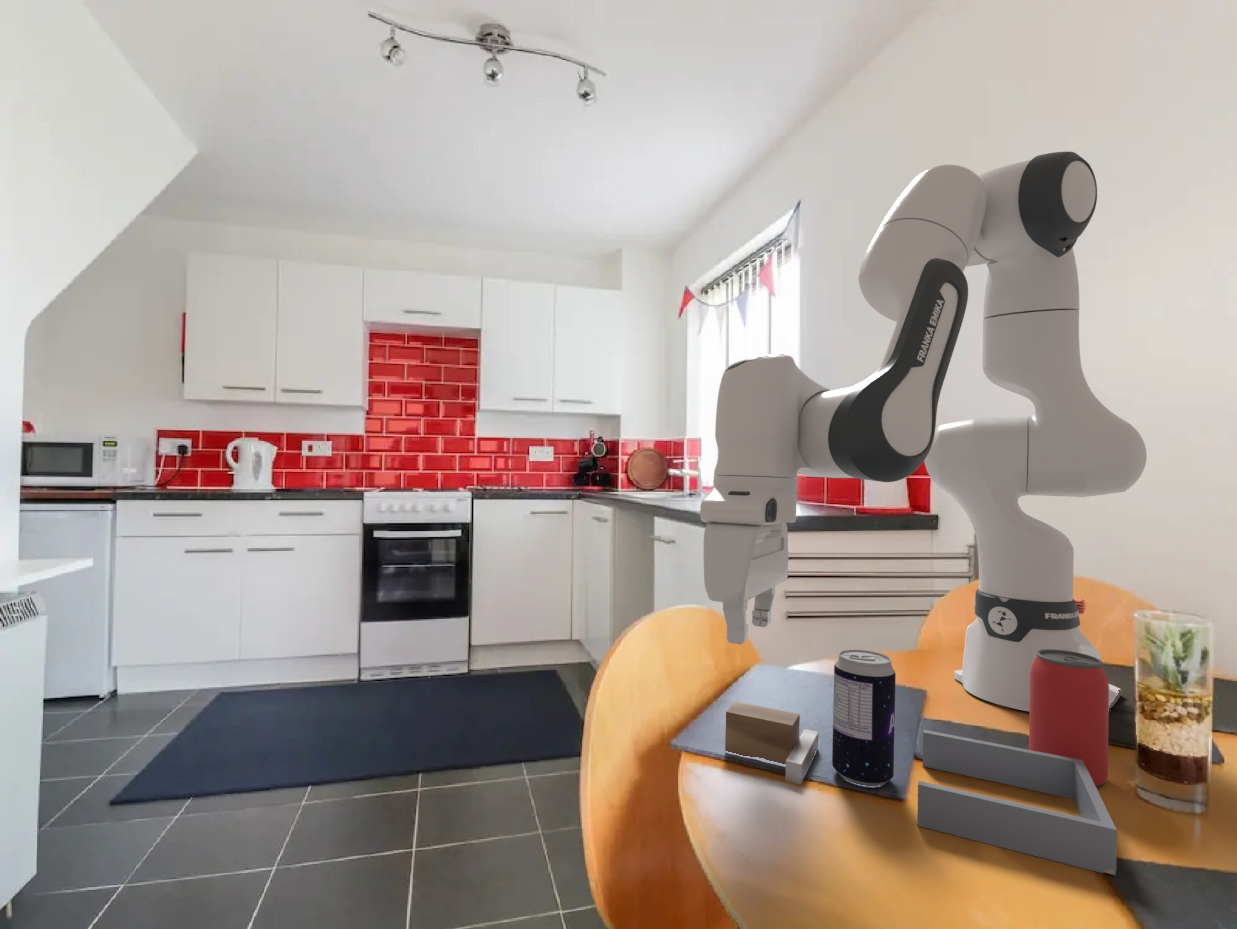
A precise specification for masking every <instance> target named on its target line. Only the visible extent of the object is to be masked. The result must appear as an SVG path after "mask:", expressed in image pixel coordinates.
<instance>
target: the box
mask: <svg viewBox="0 0 1237 929" xmlns="http://www.w3.org/2000/svg"><path fill="white" fill-rule="evenodd" d="M922 735H923V736H922V767H924V768H929V769H934V770H937V771H943V772H947V773H952V774H957V775H961V776H966V777H970V778H975V779H980V780H985V781H990V782H994V783H997V784H998V783H999V784H1003V785H1009V786H1012V787H1016V788H1021V789H1022V788H1023V789H1026V790H1031V791H1037V792H1040V793H1045V794H1049V795H1054V796H1059V797H1064V798H1068V799H1073V801H1074V804H1075V806H1076V808H1077V812H1078V814H1079V816H1077V815H1074V814H1073V815H1072V814H1067V813H1063V812H1061V811H1054V810H1050V809H1045V808H1041V807H1038V806H1033V805H1029V804H1025V803H1024V804H1023V803H1019V802H1015V801H1010V800H1006V799H1001V798H999V797H998V798H997V797H993V796H988V795H984V794H979V793H975V792H969V791H966V790H962V789H957V788H953V787H948V786H944V785H939V784H936V783H931V782H926V781H921V780H917V781H918V783H917V818H916V820H917V822H916V823H917V824H916V825H917V826H918V827H921V828H926V829H930V830H933V831H936V832H940V833H941V832H942V833H944V834H947V835H953V836H957V837H961V838H963V839H968V840H973V841H976V842H979V843H983V844H987V845H992V846H996V847H999V848H1003V849H1007V850H1011V851H1015V852H1018V853H1021V854H1022V853H1023V854H1027V855H1030V856H1035V857H1038V858H1042V859H1046V860H1049V861H1055V862H1059V863H1061V864H1062V863H1063V864H1065V865H1070V866H1073V867H1077V868H1081V869H1083V870H1084V869H1085V870H1090V871H1091V872H1095V873H1096V872H1097V873H1100V874H1104V873H1103V871H1105V870H1110V869H1113V870H1116V871H1117V846H1118V844H1117V843H1118V842H1117V840H1118V836H1117V835H1118V833H1117V832H1118V830H1117V828H1116V826H1115V823H1114V822H1113V819H1112V818H1111V815H1110V813H1109V811H1108V808H1107V807H1106V805H1105V803H1104V801H1103V799H1102V797H1101V795H1100V793H1099V790H1098V788H1097V786H1095V784H1094V782H1093V780H1092V778H1091V776H1090V774H1089V772H1088V770H1087V768H1086V766H1085V764H1084V762H1083V760H1079V759H1074V758H1069V757H1064V756H1059V755H1053V754H1048V753H1043V752H1038V751H1032V750H1029V749H1026V748H1021V747H1017V746H1010V745H1005V744H1001V743H997V742H996V743H995V742H991V741H990V742H989V741H984V740H978V739H974V738H969V737H963V736H960V735H959V736H958V735H953V734H948V733H944V732H943V733H942V732H939V731H932V730H928V729H923V734H922Z"/></svg>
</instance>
